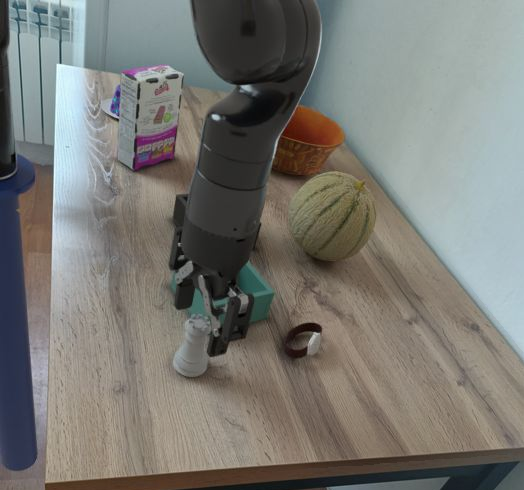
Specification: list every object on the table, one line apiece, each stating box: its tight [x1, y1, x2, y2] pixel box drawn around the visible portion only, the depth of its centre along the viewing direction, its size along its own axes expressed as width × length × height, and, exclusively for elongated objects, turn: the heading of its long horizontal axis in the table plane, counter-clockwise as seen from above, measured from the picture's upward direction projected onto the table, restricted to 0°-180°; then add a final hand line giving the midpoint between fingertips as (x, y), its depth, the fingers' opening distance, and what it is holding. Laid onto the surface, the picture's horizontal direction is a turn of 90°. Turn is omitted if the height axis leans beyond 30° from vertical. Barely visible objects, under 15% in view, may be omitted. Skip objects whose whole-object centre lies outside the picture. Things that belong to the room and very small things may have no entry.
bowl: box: [272, 104, 346, 176], centre depth 116 cm, size 21×21×10 cm
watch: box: [283, 321, 323, 360], centre depth 76 cm, size 8×5×4 cm, turn 147°
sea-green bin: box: [170, 257, 276, 331], centre depth 78 cm, size 11×11×5 cm
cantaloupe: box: [287, 171, 377, 262], centre depth 92 cm, size 15×15×15 cm
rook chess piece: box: [172, 314, 212, 378], centre depth 67 cm, size 4×4×8 cm
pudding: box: [100, 84, 120, 120], centre depth 116 cm, size 12×12×5 cm
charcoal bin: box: [171, 193, 262, 250], centre depth 91 cm, size 11×11×5 cm
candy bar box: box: [116, 64, 185, 172], centre depth 100 cm, size 11×5×16 cm, turn 143°
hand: (198, 330), depth 65 cm, fingers open, 8 cm apart
